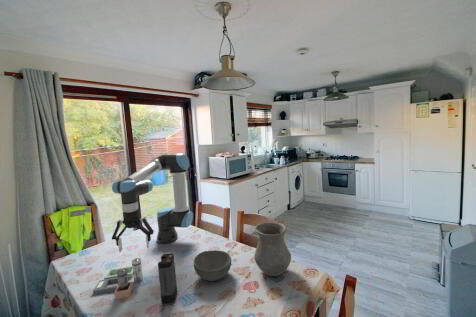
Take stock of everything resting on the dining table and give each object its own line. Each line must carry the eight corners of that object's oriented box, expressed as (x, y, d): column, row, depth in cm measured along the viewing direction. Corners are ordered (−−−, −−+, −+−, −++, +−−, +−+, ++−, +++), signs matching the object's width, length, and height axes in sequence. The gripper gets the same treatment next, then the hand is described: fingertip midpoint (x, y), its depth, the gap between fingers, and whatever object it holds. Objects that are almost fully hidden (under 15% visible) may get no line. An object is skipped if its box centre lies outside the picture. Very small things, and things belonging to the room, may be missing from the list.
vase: (260, 286, 111) (257, 238, 108) (251, 264, 129) (249, 223, 127) (297, 280, 114) (296, 233, 111) (284, 260, 132) (282, 219, 130)
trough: (135, 270, 131) (135, 265, 131) (132, 278, 123) (131, 273, 123) (110, 274, 128) (109, 269, 128) (104, 283, 120) (104, 277, 120)
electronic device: (165, 291, 111) (162, 253, 109) (177, 290, 111) (174, 252, 109) (160, 306, 101) (156, 264, 99) (174, 304, 102) (170, 263, 100)
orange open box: (133, 288, 114) (132, 281, 114) (129, 297, 108) (128, 290, 108) (119, 291, 113) (118, 283, 113) (115, 300, 107) (114, 292, 106)
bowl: (202, 294, 108) (200, 274, 107) (190, 272, 126) (189, 255, 125) (238, 279, 117) (237, 261, 116) (223, 261, 135) (222, 245, 134)
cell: (143, 277, 123) (141, 255, 122) (142, 283, 119) (139, 260, 117) (135, 279, 122) (132, 257, 121) (133, 284, 118) (130, 261, 116)
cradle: (124, 280, 122) (124, 276, 121) (119, 291, 113) (119, 286, 113) (100, 284, 119) (99, 280, 119) (93, 295, 111) (92, 290, 111)
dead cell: (130, 289, 113) (128, 265, 112) (128, 295, 109) (125, 270, 107) (120, 291, 112) (118, 267, 111) (118, 297, 108) (115, 272, 107)
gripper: (156, 205, 122) (160, 242, 124) (107, 210, 117) (111, 249, 120) (154, 209, 115) (158, 248, 117) (101, 215, 110) (106, 256, 112)
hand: (134, 249), depth 118 cm, fingers open, 13 cm apart
